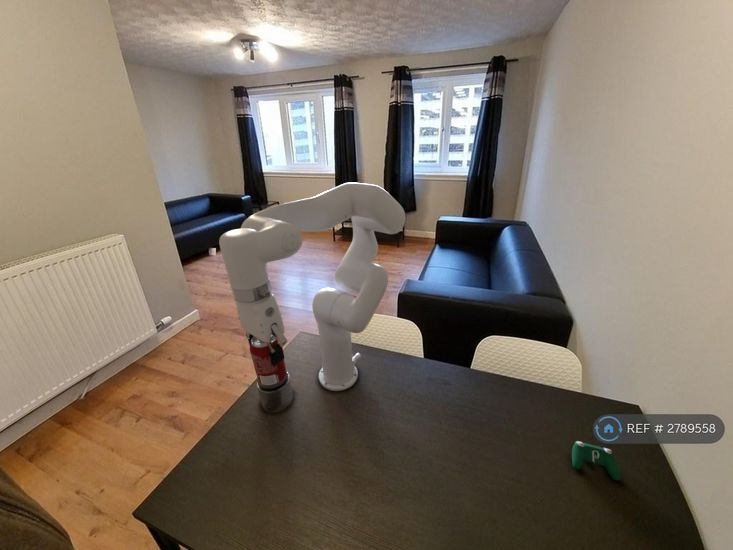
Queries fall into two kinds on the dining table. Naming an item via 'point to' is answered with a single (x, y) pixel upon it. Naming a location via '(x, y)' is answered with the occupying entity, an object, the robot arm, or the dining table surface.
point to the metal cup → (276, 395)
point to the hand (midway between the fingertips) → (267, 354)
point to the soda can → (266, 363)
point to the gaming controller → (595, 458)
